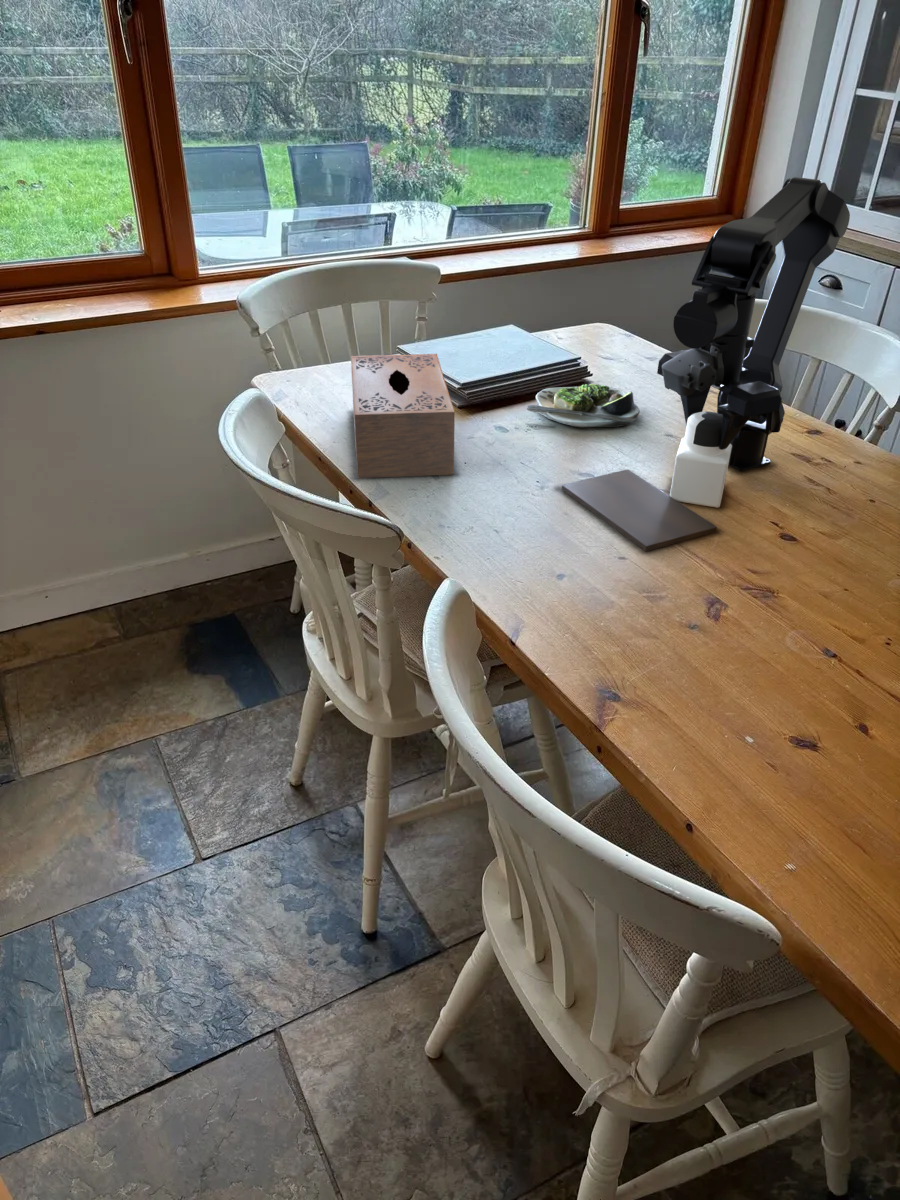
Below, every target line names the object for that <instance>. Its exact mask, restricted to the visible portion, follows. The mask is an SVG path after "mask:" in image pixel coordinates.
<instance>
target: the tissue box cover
mask: <svg viewBox="0 0 900 1200" xmlns="http://www.w3.org/2000/svg"><path fill="white" fill-rule="evenodd" d="M350 366H351V367H350V369H351V388H352V389H351V390H352V391H351V392H352V407H353V409H352V411H353V425H354V426H353V427H354V440H355V442H354V443H355V456H356V472H357V473H356V474H357V479H371V478H373V479H375V478H397V477H398V478H400V477H421V476H422V477H424V476H426V477H428V476H449V475H452V476H453V475H454V472H455V470H454V469H455V463H454V462H455V421H456V420H455V418H456V417H455V415H456V413H455V411H456V410H455V408H454V405H453V401H452V399H451V395H450V392H449V389H448V385H447V382H446V379H445V376H444V373H443V369H442V367H441V363H440V359H439V356H438V353H418V354H417V353H415V354H414V353H413V354H371V355H350Z"/></svg>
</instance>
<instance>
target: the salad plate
mask: <svg viewBox="0 0 900 1200" xmlns="http://www.w3.org/2000/svg"><path fill="white" fill-rule="evenodd" d="M535 401H536V404H537V405H535V404H529V405H527V407H526V410H527V411H529V412H532V413H535V414H539V415H542V416H544V417H545V418H546V419H548V420H550V421H553V422H556V423H558V424H562V425H566V426H570V427H575V428H614V427H615V428H616V427H624V426H628V425H630V424H631V423H633V422H637V419H636V418H638V416H639V414H640V408H639V407H638V405H637V404H635V401H634V393H633V392H632V391H629V392H624V391H623V390H622V389H620V388H617V387H614V386H610V385H609V386H608V385H605V384H599V383H596V384H595V383H589V385H588V384H587V383H585V384H582V385H579V386H562V387H561V386H560V387H559V386H558V387H547V388H545V389H542V390H540V391H539V392H537V394H536V395H535Z"/></svg>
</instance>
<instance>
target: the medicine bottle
mask: <svg viewBox="0 0 900 1200" xmlns="http://www.w3.org/2000/svg"><path fill="white" fill-rule="evenodd" d="M722 418H723V415H722V414H719V413H717V412H715V411H702V412H698V413H694V414H692V415H691V416H690V417H689V418H688V420H687V426H686V425H685V426H686V427H685V434H684V436H683V437H682V438H681V440H680V444H679V446H678V450H677V453H676V455H675V460H674V466H673V473H672V479H671V484H670V485H671V486H670V490H669V492H670V493H669V496H670V497H672V498H673V499H675V500H676V501H678V502H679V503H685V504H692V505H697V506H698V505H699V506H704V507H710V508H716V509H718V508H720V506H721V503H722V498H723V495H724V488H725V484H726V479H727V474H728V469H729V465H728V464H729V459H730V454H731V449H732V445H731V444H729V446H728V447H727V448H726V449H723V450H721V449H719V438H720V432H721V425H722Z"/></svg>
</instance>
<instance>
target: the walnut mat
mask: <svg viewBox="0 0 900 1200" xmlns="http://www.w3.org/2000/svg"><path fill="white" fill-rule="evenodd" d="M561 491H563V492H564V493H565V494H567V495H568V496H569V497H571V498H572V499H574V500H575V501H576V502H577V503H579V504H580V505H582V506H583V507H585V508H586V509H587V510H588V511H590V512H592V514H594V515H595V516H597V518H600V519H601V520H602V521H603V522H605V523H606V524H608V525H609V526H611V527H612V528H613V529H614V530H616V531H617V532H619V533H620V534H621V535H623V537H626V538H627V539H628V540H629V541H630V542H632V543H634V544H635V545H636V546H638V547H639V548H640V549H642V550H643V551H644V552H649V551H652V550H656V549H660V548H662V547H666V546H670V545H673V544H677V543H681V542H684V541H688V540H691V539H695V538H699V537H702V536H706V535H710V534H714V533H716V532H717V531H718V526H717V525H715V524H714V523H712V522H711V521H709V520H708V519H706V518H704V517H703V516H702V515H700V514H698V513H697V512H695V511H694V510H692V509H690V508H689V507H687V506H686V505H684V504H682V502H678V501H676V500H675V499H673V498H672V497H670V494H667V493H665V492H664V491H662V490H661V489H659V488H657V487H656V486H654V484H651V483H650V482H648V481H647V480H645V479H644V478H642V477H641V476H639V475H637V474H636V473H634V472H633V471H631V470H630V469H625V470H620V471H615V472H611V473H606V474H604V475H603V474H602V475H598V476H594V477H590V478H586V479H581V480H577V481H572V482H569V483H564V484H561Z"/></svg>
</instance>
